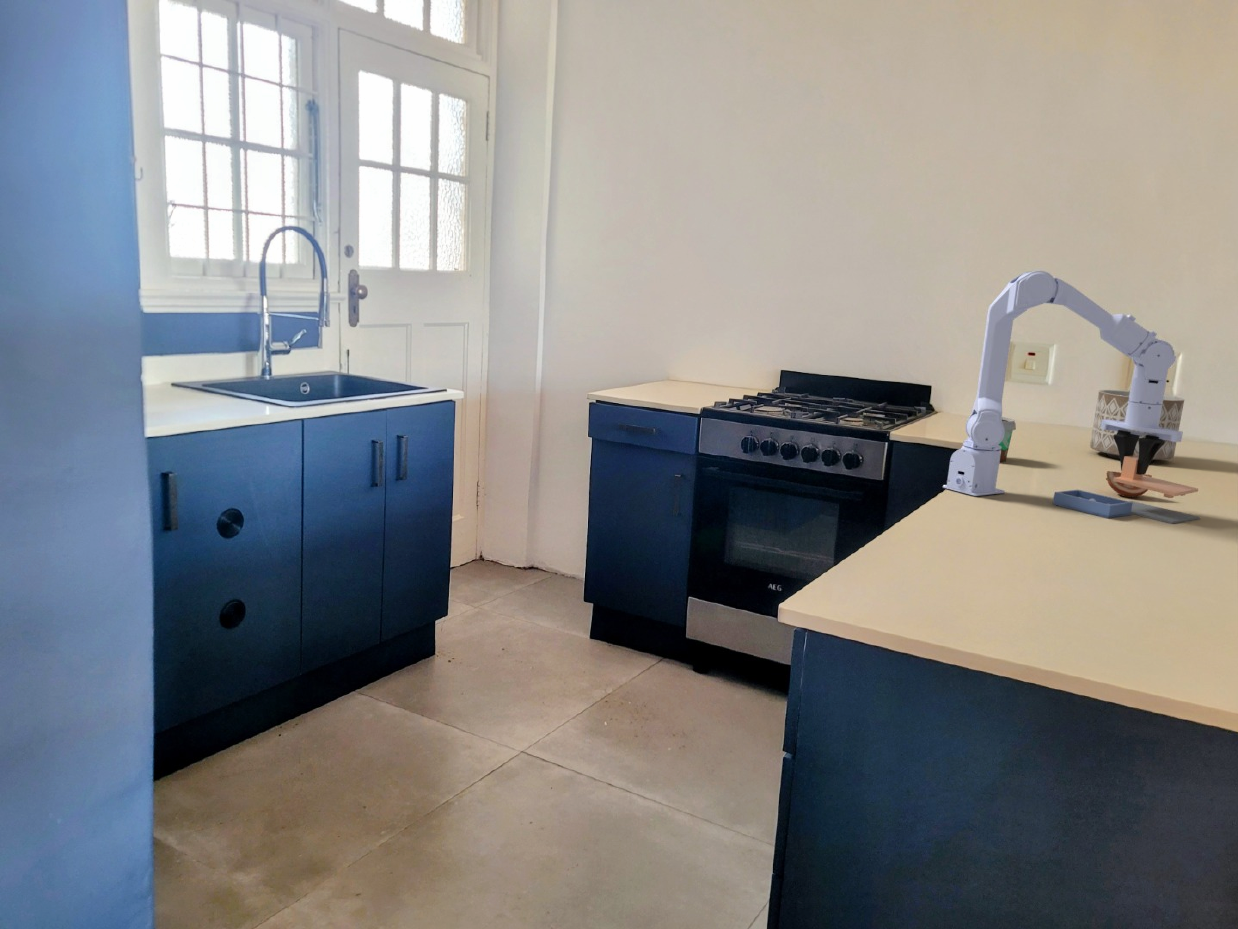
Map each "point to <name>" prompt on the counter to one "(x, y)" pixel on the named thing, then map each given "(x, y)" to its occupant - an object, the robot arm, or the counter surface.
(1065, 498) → the blue box
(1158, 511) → the mat
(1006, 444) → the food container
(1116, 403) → the planter
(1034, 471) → the counter surface
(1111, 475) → the fruit slice
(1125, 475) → the lid
